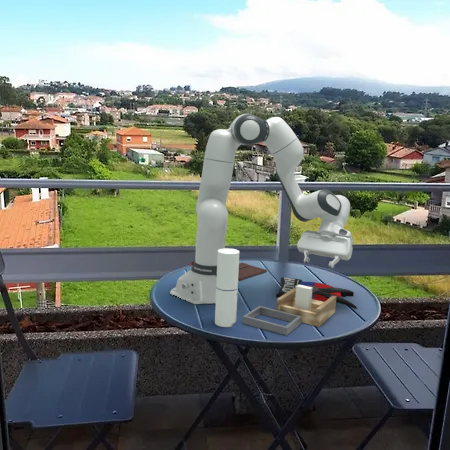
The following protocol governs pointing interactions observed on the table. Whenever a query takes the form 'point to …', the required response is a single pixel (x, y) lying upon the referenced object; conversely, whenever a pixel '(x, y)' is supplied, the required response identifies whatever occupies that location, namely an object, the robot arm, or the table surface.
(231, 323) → the cylindrical container
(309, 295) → the white upright pillar
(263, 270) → the notebook
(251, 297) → the table surface
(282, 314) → the charcoal tray
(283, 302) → the tray
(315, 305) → the offcut top
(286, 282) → the black red irregular piece
